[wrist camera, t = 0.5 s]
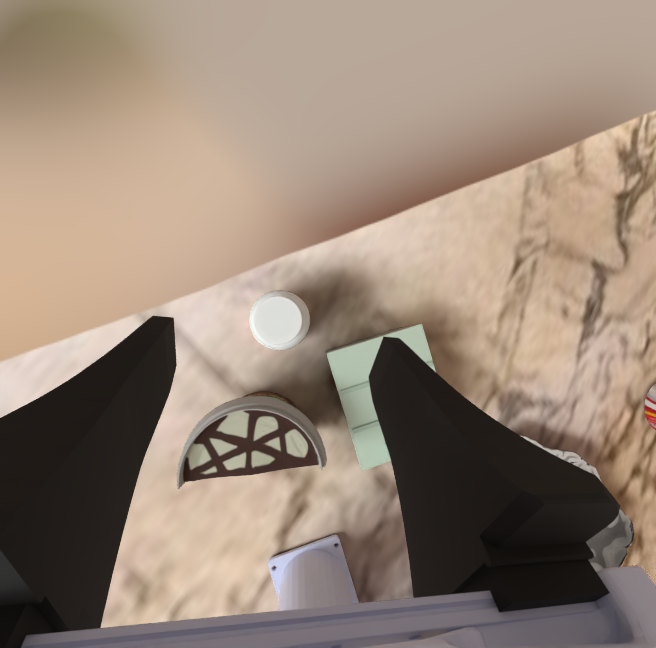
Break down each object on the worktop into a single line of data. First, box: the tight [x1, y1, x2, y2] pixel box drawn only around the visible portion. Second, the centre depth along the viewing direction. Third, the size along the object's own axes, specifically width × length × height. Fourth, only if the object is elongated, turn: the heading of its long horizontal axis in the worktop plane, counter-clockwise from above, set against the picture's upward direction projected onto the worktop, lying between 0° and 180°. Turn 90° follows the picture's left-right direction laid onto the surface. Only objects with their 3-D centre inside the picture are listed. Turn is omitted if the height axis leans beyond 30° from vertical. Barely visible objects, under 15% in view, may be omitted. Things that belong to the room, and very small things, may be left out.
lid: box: [326, 324, 436, 471], centre depth 30 cm, size 12×10×5 cm
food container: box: [177, 392, 327, 489], centre depth 32 cm, size 12×6×10 cm, turn 95°
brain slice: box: [521, 436, 634, 572], centre depth 38 cm, size 20×17×3 cm
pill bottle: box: [249, 290, 310, 350], centre depth 32 cm, size 5×5×10 cm
